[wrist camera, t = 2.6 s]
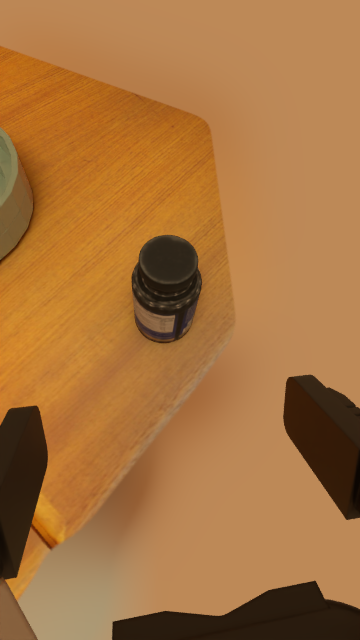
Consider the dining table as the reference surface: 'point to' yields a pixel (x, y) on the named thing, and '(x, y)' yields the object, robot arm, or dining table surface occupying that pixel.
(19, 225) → the bowl
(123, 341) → the dining table surface
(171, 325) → the pill bottle
